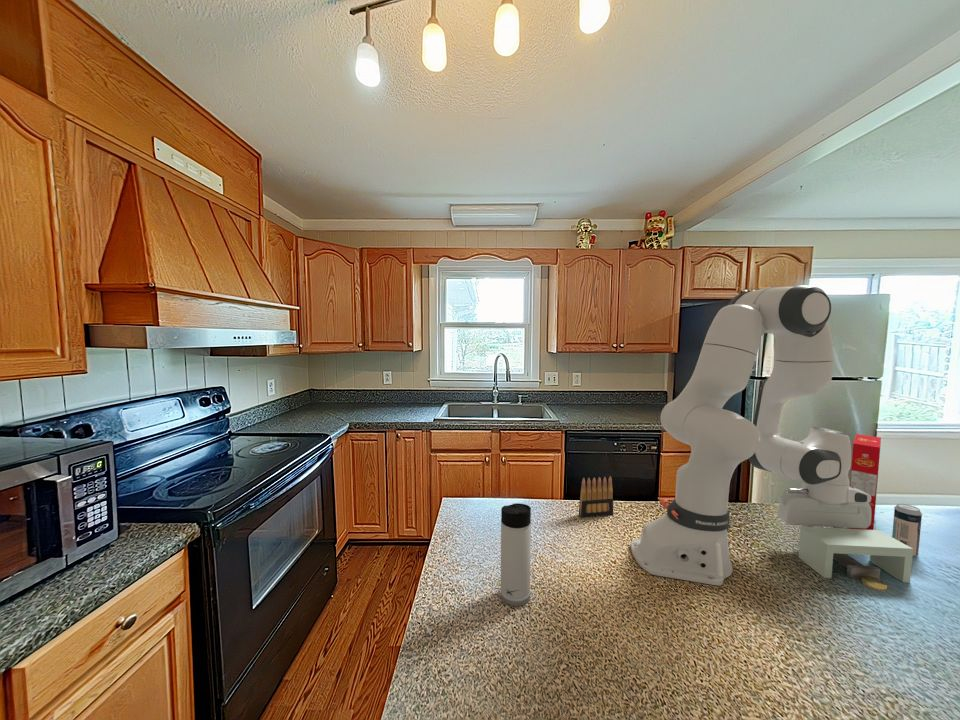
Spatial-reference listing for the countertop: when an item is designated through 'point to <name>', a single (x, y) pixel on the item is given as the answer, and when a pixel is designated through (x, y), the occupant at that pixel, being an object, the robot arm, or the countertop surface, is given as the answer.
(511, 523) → the travel mug
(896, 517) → the beer can
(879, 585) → the brass disc
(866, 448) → the food packaging
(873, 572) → the scraper
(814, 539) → the pale green bridge
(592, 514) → the ammunition clip
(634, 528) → the countertop surface
